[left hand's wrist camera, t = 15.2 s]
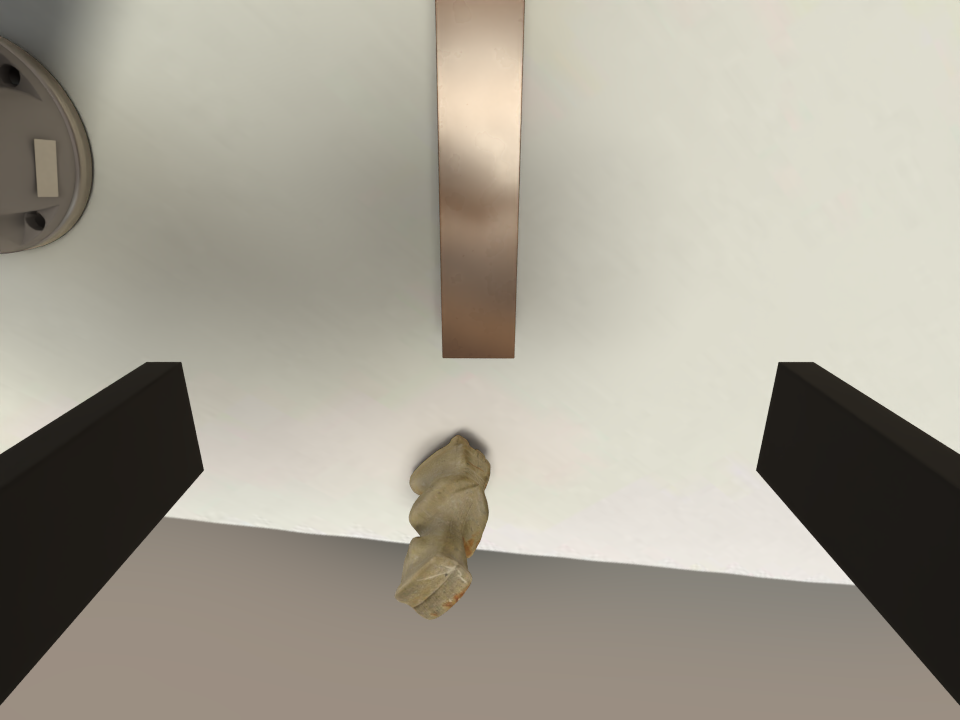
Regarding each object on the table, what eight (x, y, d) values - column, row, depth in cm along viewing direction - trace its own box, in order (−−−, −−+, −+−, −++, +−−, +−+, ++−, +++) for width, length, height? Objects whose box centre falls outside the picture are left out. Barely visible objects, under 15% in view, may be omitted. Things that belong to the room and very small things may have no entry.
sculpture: (400, 466, 49) (368, 591, 35) (457, 416, 48) (447, 527, 33) (445, 505, 51) (433, 640, 37) (502, 459, 49) (512, 582, 35)
